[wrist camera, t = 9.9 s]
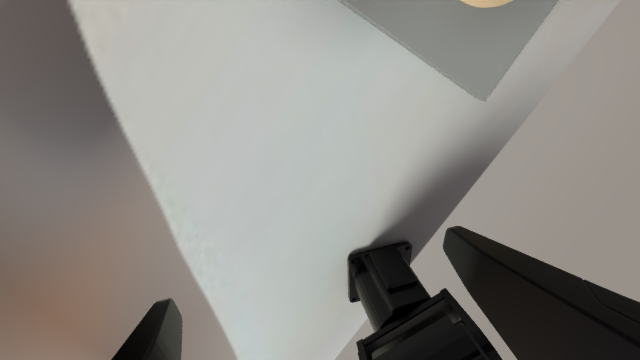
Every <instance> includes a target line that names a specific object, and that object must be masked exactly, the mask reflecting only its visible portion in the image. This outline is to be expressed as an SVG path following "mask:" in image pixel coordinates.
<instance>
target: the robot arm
mask: <svg viewBox="0 0 640 360" xmlns="http://www.w3.org/2000/svg"><path fill="white" fill-rule="evenodd" d="M443 249H444V252H445V253H446V255H447V257H448V259H449V260H450V262H451V264H452V265H453V267H454V269H455V270H456V272H457V274H458V276H459V277H460V279H461V281H462V282H463V284H464V286H465V287H466V289H467V290H468V292H469V293H470V295H471V296H472V298H473V299H474V300H475V302H476V303H477V305H478V306H479V307H480V309H481V310H482V311H483V313H484V314H485V315H486V317H487V318H488V320H489V321H490V322H491V324H492V325H493V326H494V328H495V329H496V331H497V332H498V333H499V335H500V336H501V337H502V339H503V340H504V342H505V343H506V344H507V346H508V347H509V348H510V350H511V351H512V352H513V354H514V355H515V357H516V358H517V360H640V302H638V301H635V300H632V299H630V298H627V297H625V296H622V295H620V294H618V293H615V292H613V291H610V290H608V289H606V288H603V287H601V286H598V285H596V284H593V283H591V282H589V281H587V280H583V279H582V278H580V277H577V276H575V275H572V274H570V273H568V272H566V271H563V270H561V269H559V268H556V267H554V266H552V265H549V264H547V263H544V262H542V261H540V260H538V259H535V258H533V257H531V256H529V255H526V254H524V253H522V252H519V251H517V250H515V249H512V248H510V247H508V246H505V245H503V244H501V243H498V242H496V241H494V240H491V239H489V238H487V237H484V236H482V235H480V234H477V233H475V232H473V231H470V230H468V229H466V228H463V227H461V226H454V227H450V228H448V229H447V230H446V233H445V238H444V243H443ZM411 251H412V245H411V244H410V243H409V242H408V241H406V242H402V243H398V244H394V245H390V246H386V247H382V248H378V249H374V250H370V251H366V252H362V253H358V254H354V255H351V256H350V257H349V258H348V260H347V261H348V297H349V300H350V302H352V303H353V302H357V301H361V303H362V305H363V307H364V309H365V312H366V314H367V316H368V318H369V320H370V323H371V325H372V327H373V330H374V333H373V334H371V335H370V336H368V337H366V338H365V339H361V340H359V341H357V342H356V343H357V347H358V351H359V352H358V356H359V360H502V358H501V357H500V355H499V354H498V353H497V351H496V350H495V348H494V347H493V346H492V344H491V343H490V341H489V340H488V339H487V337H486V336H485V335H484V334H483V332H482V331H481V330H480V328H479V327H478V326H477V325H476V324H475V322H474V321H473V320H472V319H471V318H470V316H469V315H468V314H467V313H466V312H465V311H464V309H463V308H462V307H461V306H460V305H459V303H458V302H457V301H456V300H455V299H454V298H453V296H452V295H451V294H450V293H449V292H448V290H447V289H446V288H444V289H443V290H441V291H440V293H438V294H437V295H435V296H434V297H432V298H431V297H430V295H429V294H428V292H427V291H426V290H425V288H424V287H423V285H422V284H421V282H420V281H419V279H418V278H417V276H416V275H415V273H414V272H413V270H412V269H411V267H410V258H411ZM181 348H182V316H181V314H180V312H179V310H178V308H177V306H176V304H175V302H174V301H173V299H171V298H169V299H164V300H160V301H157V302H156V303H154V304H153V306H152V307H151V308H150V310H149V311H148V312H147V314H146V315H145V316H144V317H143V319H142V320H141V322H140V323H139V324H138V325H137V327H136V328H135V329H134V331H133V332H132V333H131V335H130V336H129V337H128V338H127V340H126V341H125V343H124V344H123V345H122V346H121V348H120V349H119V350H118V352H117V353H116V354H115V355H114V357H113V358H112V359H111V360H181V350H182V349H181Z"/></svg>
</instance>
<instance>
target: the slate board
mask: <svg viewBox="0 0 640 360" xmlns="http://www.w3.org/2000/svg"><path fill="white" fill-rule="evenodd" d="M339 1H340V2H341V3H343V4H344V5H346V6H347V7H348V8H350V9H351V10H353V11H354V12H355V13H357V14H358V15H360V16H361V17H363V18H364V19H365V20H367V21H368V22H370V23H371V24H372V25H374V26H375V27H377V28H378V29H379V30H381V31H382V32H384V33H385V34H386V35H388V36H389V37H391V38H392V39H393V40H395V41H396V42H398V43H399V44H400V45H402V46H403V47H405V48H406V49H408V50H409V51H410V52H412V53H413V54H415V55H416V56H417V57H419V58H420V59H422V60H423V61H424V62H426V63H427V64H429V65H430V66H431V67H433V68H434V69H436V70H437V71H438V72H440V73H441V74H443V75H444V76H445V77H447V78H448V79H450V80H451V81H453V82H454V83H455V84H457V85H458V86H460V87H461V88H462V89H464V90H465V91H467V92H468V93H469V94H471V95H472V96H474V97H475V98H477V99H480V100H483V101H486V100H487V98H488V97H489V96H490V94H491V93H492V91H493V90H494V89H495V87H496V86H497V85H498V83H499V82H500V80H501V79H502V78H503V76H504V75H505V74H506V72H507V71H508V69H509V68H510V67H511V65H512V64H513V62H514V61H515V60H516V58H517V57H518V56H519V54H520V53H521V51H522V50H523V49H524V47H525V46H526V45H527V43H528V42H529V40H530V39H531V38H532V36H533V35H534V34H535V32H536V31H537V29H538V28H539V27H540V25H541V24H542V23H543V21H544V20H545V18H546V17H547V16H548V14H549V13H550V11H551V10H552V9H553V7H554V6H555V5H556V3H557V2H558V0H339Z"/></svg>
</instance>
